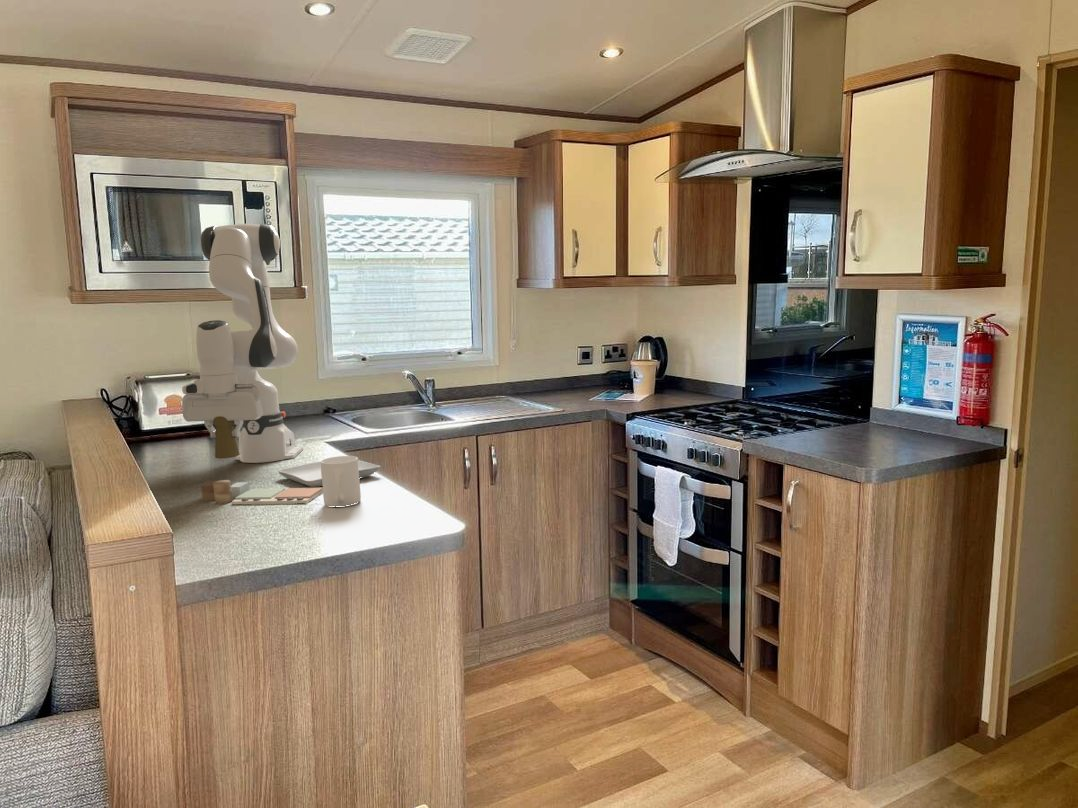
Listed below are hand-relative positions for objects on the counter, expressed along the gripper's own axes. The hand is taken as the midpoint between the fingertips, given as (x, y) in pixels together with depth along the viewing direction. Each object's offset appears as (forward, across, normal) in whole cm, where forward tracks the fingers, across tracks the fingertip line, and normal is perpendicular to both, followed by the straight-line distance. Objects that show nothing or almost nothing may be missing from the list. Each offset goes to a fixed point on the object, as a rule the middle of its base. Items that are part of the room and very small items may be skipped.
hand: (225, 437), depth 207 cm
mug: (+14, -36, +17) cm, 42 cm away
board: (+14, -17, +10) cm, 24 cm away
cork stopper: (+14, -4, +12) cm, 19 cm away
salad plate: (+15, -22, -11) cm, 29 cm away
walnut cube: (+14, +1, +8) cm, 16 cm away
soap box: (+14, -5, +6) cm, 16 cm away
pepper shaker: (+5, 0, 0) cm, 5 cm away
